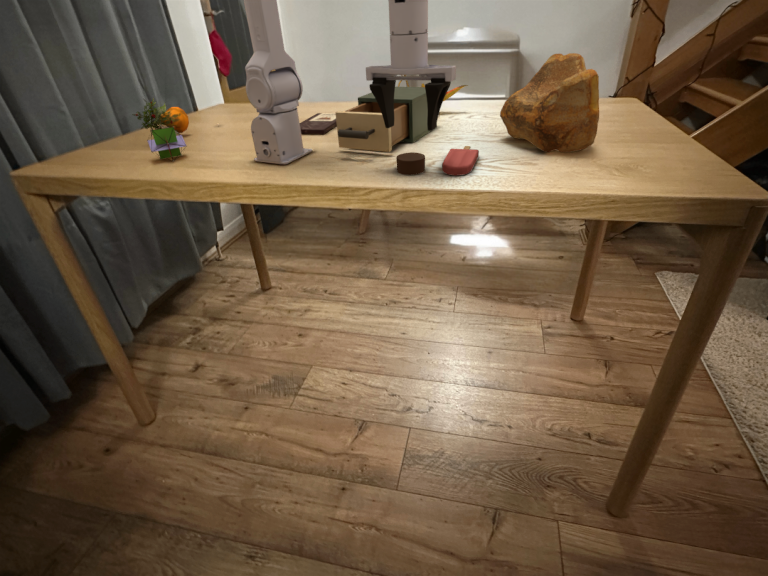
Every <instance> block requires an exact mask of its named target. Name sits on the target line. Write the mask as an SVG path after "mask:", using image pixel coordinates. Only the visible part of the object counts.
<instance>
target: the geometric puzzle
mask: <svg viewBox="0 0 768 576" xmlns="http://www.w3.org/2000/svg"><path fill="white" fill-rule="evenodd" d="M160 126H161V129H156V130H151V129H150V130H151V132H150V136H148V139H147V140H146V142H147V143H148V147H149V149H150V153H151V154H153V155H155V153H156V152H157V153H156V156H158V158H159V159H160V160H162V161H164V160H165V159H169V158H171V159H170V161H171V162H175V160H177V159H179V157H182V156H183V155H182V154H183V152H184V151H185V150H186V148H187V143H186V141H185V139H184V137H183V134H182V133H178V132H177V131H175V130H174V129H175V128H174V127H170V126H169V127H167V126H164V125H160ZM158 127H159V125H158ZM182 148H183V149H182Z"/></svg>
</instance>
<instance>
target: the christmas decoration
mask: <svg viewBox="0 0 768 576" xmlns="http://www.w3.org/2000/svg"><path fill="white" fill-rule="evenodd" d="M144 102H145V105H144V106H143V111H142V113H141V112H139V111H137V112H136V113H135V114H134V113H132V114H131V116H135V117H137V120H139V121H141V120H143V122H141V124H142V125H141V126H142V127H141V128H140V130H142V129H145V130H148V129H150V131H149V132H150V133H151V130H156V129H161V126H160V125H162V126H166V127H169V126H170V127H174V128H175V129H174V130H175V131H177V132H178V133H180V134H182V133H184V132H187V130H188V128H189V125H190V121H189V119H190V118H189V116H188V114H187V113H186V111H185V110H184V109H182V108H181V107H179V106H171V107H169V108H168V109H167V104H166V102H164V103H163V105H161V106H157V107H155V105H156V104H157V101H155V97H153V98H152V100H151V101H149V102H148V101H147V100H146V99H144ZM216 125H217V126H220V123H217V124H216ZM158 126H159V127H158Z"/></svg>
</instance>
